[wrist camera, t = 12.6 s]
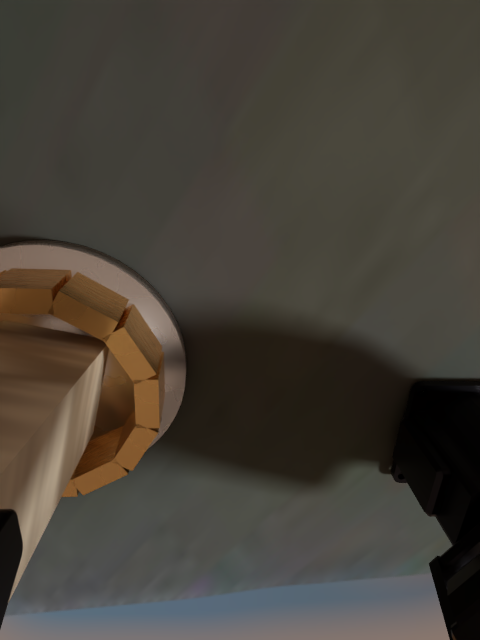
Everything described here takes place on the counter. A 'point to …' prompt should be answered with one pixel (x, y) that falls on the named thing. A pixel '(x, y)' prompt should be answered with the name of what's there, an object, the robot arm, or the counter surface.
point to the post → (44, 419)
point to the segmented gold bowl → (118, 334)
